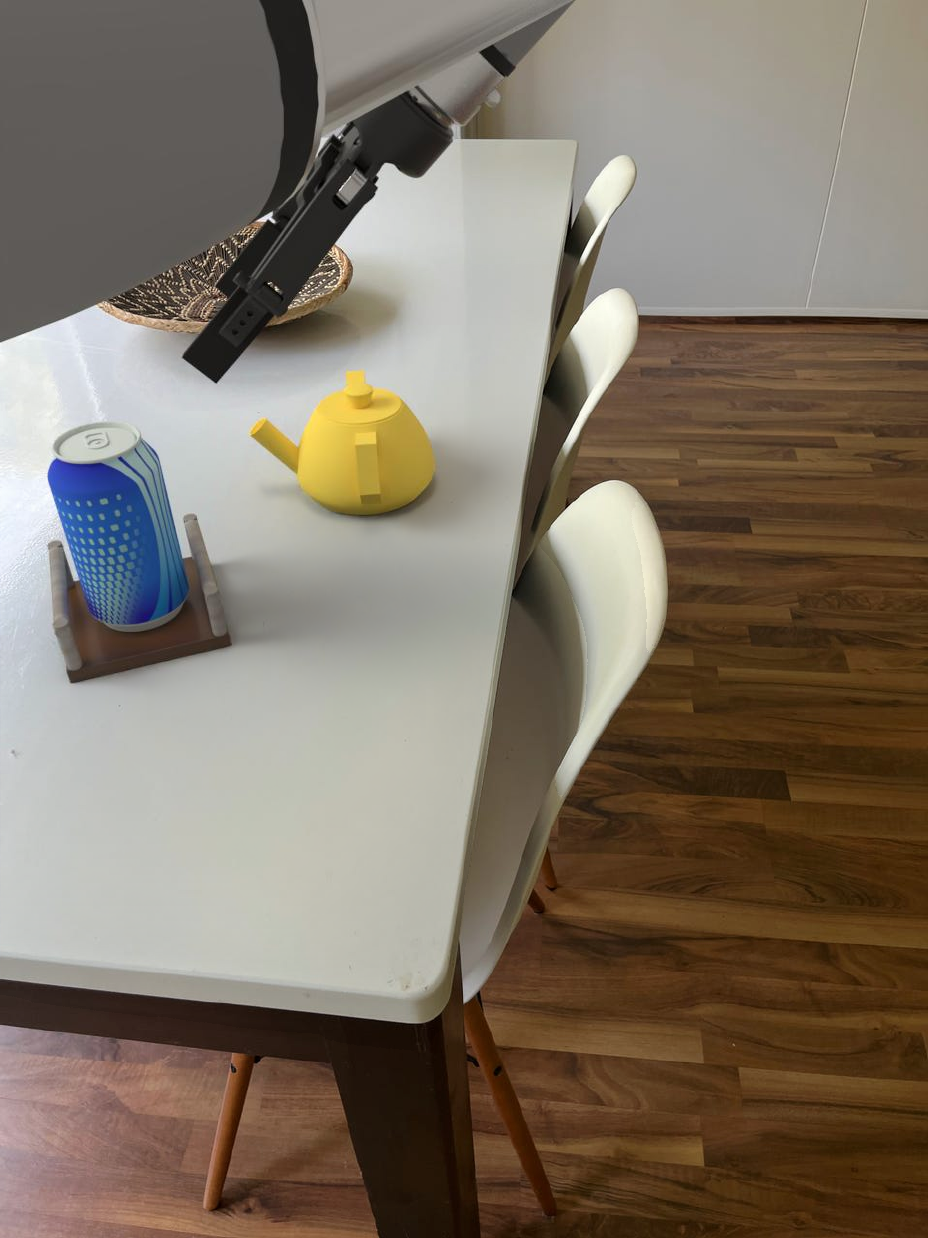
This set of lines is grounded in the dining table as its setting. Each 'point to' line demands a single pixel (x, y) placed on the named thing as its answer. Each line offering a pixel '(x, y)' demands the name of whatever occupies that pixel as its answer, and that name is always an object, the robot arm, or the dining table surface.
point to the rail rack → (112, 651)
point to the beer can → (118, 525)
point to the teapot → (356, 450)
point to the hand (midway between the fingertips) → (215, 330)
